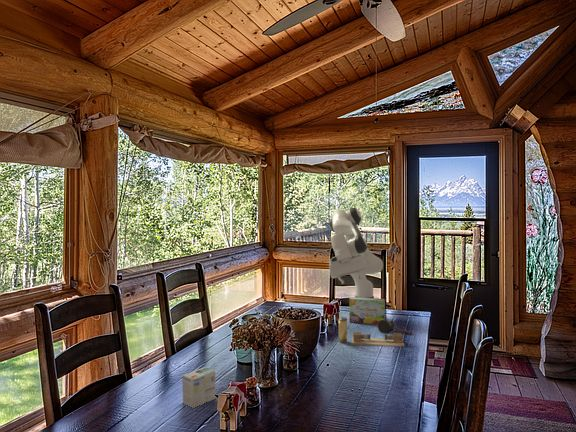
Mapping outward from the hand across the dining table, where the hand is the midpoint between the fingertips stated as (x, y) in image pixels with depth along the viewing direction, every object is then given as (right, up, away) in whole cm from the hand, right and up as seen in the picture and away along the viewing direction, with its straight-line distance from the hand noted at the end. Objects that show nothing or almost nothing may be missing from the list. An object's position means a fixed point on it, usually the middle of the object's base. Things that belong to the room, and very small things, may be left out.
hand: (351, 281), depth 233 cm
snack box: (+14, -31, +32) cm, 47 cm away
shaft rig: (+12, -31, -7) cm, 34 cm away
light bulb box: (-67, -33, -74) cm, 105 cm away
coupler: (-5, -31, -5) cm, 32 cm away
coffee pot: (+26, -31, +11) cm, 42 cm away
